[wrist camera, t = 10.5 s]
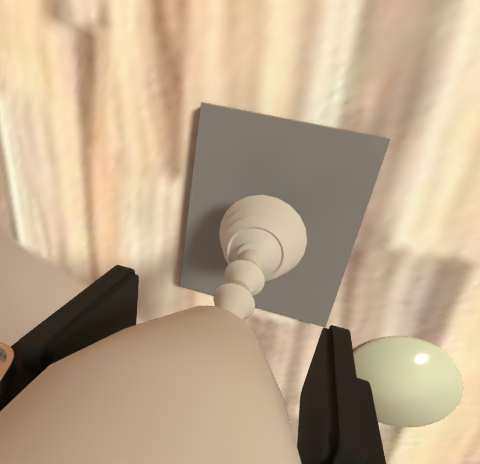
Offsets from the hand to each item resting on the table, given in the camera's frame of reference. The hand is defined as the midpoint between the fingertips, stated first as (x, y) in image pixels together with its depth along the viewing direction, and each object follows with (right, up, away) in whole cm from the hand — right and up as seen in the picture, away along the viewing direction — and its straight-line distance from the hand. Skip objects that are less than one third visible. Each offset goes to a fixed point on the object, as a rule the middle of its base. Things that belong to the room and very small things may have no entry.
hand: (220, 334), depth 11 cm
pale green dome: (+13, -8, +14) cm, 20 cm away
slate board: (+3, +4, +11) cm, 12 cm away
